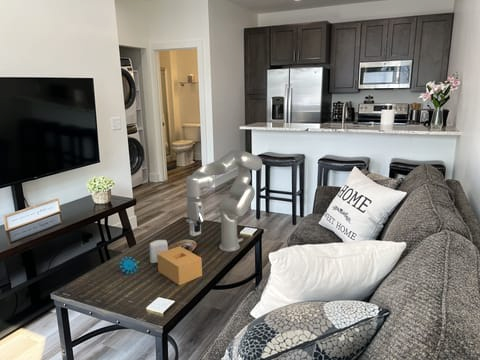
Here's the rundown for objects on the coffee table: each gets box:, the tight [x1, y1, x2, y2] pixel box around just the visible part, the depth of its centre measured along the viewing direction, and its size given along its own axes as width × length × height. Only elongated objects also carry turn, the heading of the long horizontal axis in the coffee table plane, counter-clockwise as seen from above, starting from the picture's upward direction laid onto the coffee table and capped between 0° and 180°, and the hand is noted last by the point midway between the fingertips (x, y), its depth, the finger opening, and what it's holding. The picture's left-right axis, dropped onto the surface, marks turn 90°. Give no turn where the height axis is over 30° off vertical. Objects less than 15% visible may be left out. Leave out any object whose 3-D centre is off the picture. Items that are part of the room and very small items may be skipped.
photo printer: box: [149, 239, 169, 264], centre depth 201 cm, size 10×4×12 cm, turn 116°
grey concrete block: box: [185, 218, 202, 237], centre depth 195 cm, size 9×4×9 cm, turn 133°
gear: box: [119, 256, 140, 275], centre depth 191 cm, size 11×6×10 cm
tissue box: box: [157, 245, 203, 286], centre depth 187 cm, size 14×20×10 cm
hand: (195, 230), depth 195 cm, fingers closed on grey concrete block, 3 cm apart
